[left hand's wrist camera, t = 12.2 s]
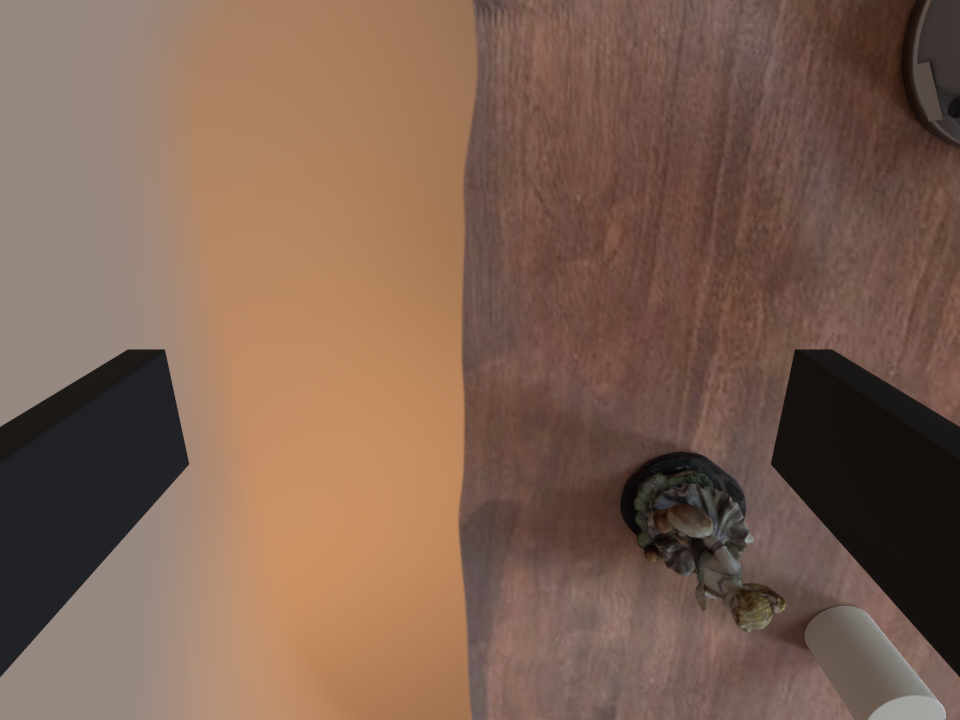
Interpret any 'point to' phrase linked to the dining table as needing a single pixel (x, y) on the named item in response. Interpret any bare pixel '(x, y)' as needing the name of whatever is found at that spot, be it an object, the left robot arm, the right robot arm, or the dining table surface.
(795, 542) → the dining table surface
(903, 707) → the can
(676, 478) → the figurine
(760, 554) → the dining table surface
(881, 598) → the dining table surface
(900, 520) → the left robot arm
